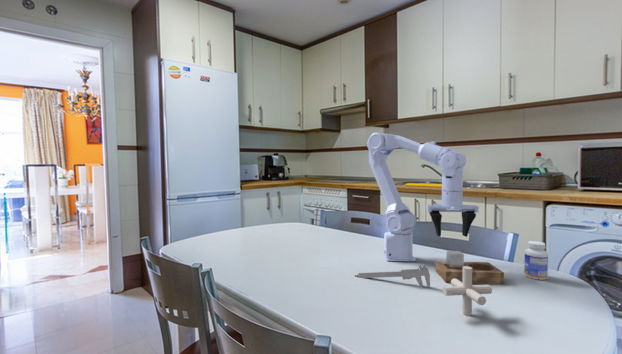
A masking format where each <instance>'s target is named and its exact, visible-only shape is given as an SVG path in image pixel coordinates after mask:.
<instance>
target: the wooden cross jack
mask: <svg viewBox="0 0 622 354" xmlns="http://www.w3.org/2000/svg"><path fill="white" fill-rule="evenodd" d="M450 284H451V286H443V287H442V288H441V289H442V294H443V295H444V296H445V297H449V296H450V297H451V296H461V297H462V301H461V303H462V305H461V306H462V307H461V309H462V314H463V315H464V316H468V317H470V316H473V315H472V314H473V313H472V312H473V301H474V303H476V304H477V305H479V306H485V304H486V302H487V298H486V297H485V296H484V295H489V294H492V292H493V289H492V286H491V285H490V284H479V285H478V284H477V285H476V284H475V285H474V284H473V283H472V268H471V267H468V266H463V283H462V282H461V281H459V280H458V279H456V278H454V279H452V280H451V283H450Z"/></svg>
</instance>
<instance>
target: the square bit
mask: <svg viewBox="0 0 622 354" xmlns="http://www.w3.org/2000/svg"><path fill="white" fill-rule="evenodd" d="M445 256H446V261H445V262H446V267H447V268H448V269H462V270H463V266H464V262H465V260H464V259H465V255H464V253H463V252H461V250H446V255H445Z"/></svg>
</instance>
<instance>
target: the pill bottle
mask: <svg viewBox="0 0 622 354" xmlns="http://www.w3.org/2000/svg"><path fill="white" fill-rule="evenodd" d="M527 247H528V248H526V249H524V263H523V264H524V265H523V267H524V268H523V270H524V273H523V274H524V276H525V277H527V278H530V279H532V278H533V280H538V279H539V280H541V281H543V280H544V281H546V280H547V279H548V276H549V275H548V274H549V273H548V271H549V253H548V251H546V243H545V242H542V241H536V240H529V241H528V242H527ZM539 280H538V281H539Z"/></svg>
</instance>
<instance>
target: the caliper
mask: <svg viewBox="0 0 622 354" xmlns="http://www.w3.org/2000/svg"><path fill="white" fill-rule="evenodd" d="M418 266H419V267H412V268H411V267H410V268H409V267H408V268H401V269H400V270H380V271H379V270H378V271H359V272H358V273H356V274H355V275H354V277H356V278H357V277H359V278H362V279H375V278H376V279H377V278H400V277H402V280H411V279H413V278H415V280H416V282H417V283H418V285H419V287H421V288H423V287H424V286H423V280H422V277H423V276H424V280H425V283H426V287H427V288H428V289H429V288H430V286H431V274H430V271H429V268H428V267H426V264H425V263H423V264H420V263H419V265H418Z"/></svg>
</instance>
